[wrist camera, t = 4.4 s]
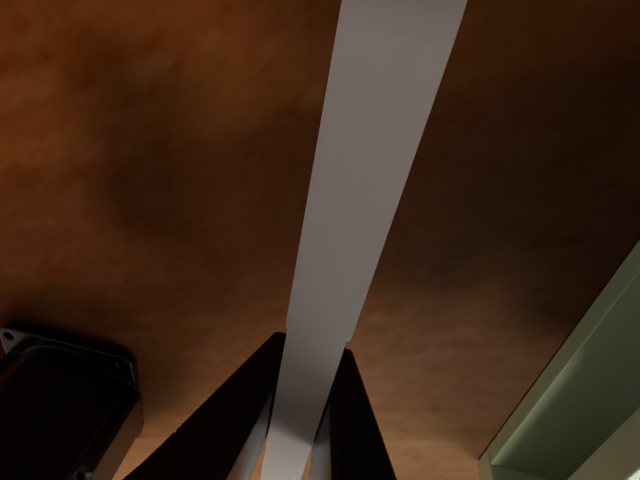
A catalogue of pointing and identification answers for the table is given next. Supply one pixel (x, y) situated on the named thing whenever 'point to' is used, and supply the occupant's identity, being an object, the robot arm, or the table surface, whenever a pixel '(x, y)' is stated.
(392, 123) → the caliper
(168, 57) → the table surface
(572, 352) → the desk shelf
